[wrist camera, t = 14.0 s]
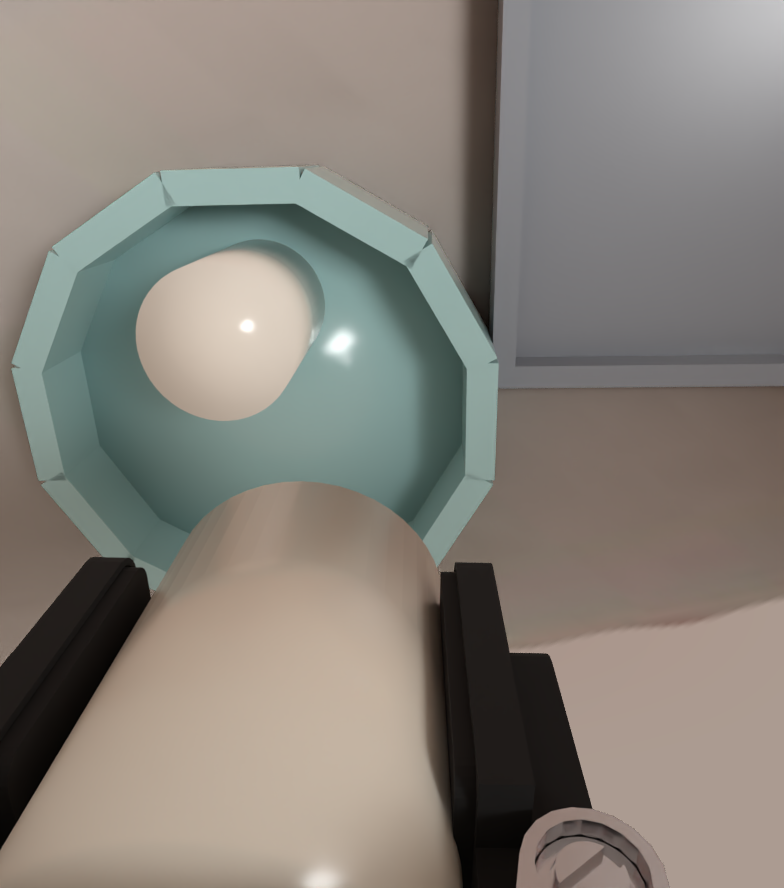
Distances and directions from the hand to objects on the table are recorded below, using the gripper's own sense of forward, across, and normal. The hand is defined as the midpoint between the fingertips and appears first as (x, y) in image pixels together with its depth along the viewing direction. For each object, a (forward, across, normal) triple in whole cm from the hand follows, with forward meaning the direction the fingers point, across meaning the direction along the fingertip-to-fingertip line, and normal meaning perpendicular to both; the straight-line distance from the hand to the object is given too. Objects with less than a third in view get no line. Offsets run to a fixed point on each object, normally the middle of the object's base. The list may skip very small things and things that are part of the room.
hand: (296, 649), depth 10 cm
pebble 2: (+1, 0, 0) cm, 1 cm away
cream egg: (+16, +4, -2) cm, 17 cm away
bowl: (+17, +3, +1) cm, 18 cm away
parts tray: (+17, -11, -8) cm, 22 cm away
